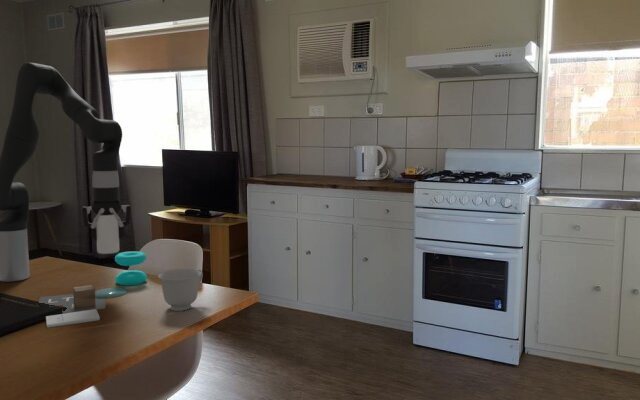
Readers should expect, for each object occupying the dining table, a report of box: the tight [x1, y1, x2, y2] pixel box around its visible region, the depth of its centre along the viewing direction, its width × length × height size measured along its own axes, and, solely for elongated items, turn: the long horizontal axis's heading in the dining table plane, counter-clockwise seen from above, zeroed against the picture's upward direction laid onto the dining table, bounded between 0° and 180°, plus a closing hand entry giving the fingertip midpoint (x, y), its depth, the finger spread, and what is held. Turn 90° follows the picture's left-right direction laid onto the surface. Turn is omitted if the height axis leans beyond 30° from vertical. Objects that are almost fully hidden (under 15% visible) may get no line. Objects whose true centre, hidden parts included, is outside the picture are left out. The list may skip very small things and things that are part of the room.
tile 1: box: [38, 293, 74, 307], centre depth 153 cm, size 11×11×1 cm
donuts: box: [114, 250, 148, 286], centre depth 174 cm, size 10×10×10 cm
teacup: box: [157, 268, 204, 312], centre depth 148 cm, size 12×15×10 cm
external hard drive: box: [45, 309, 101, 328], centre depth 137 cm, size 2×8×12 cm
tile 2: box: [61, 298, 106, 314], centre depth 149 cm, size 11×11×1 cm
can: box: [95, 214, 120, 255], centre depth 159 cm, size 6×6×12 cm
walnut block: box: [72, 284, 96, 309], centre depth 149 cm, size 5×5×5 cm
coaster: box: [95, 287, 128, 299], centre depth 161 cm, size 10×10×1 cm
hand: (107, 239), depth 159 cm, fingers closed on can, 6 cm apart
